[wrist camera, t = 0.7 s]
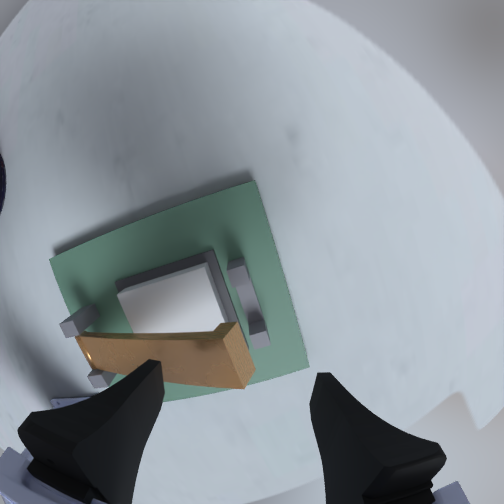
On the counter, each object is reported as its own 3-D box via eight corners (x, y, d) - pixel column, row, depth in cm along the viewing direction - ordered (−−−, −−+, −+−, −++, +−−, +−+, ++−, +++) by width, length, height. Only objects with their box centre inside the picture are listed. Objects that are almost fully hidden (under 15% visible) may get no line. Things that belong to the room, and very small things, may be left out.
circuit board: (125, 399, 24) (109, 430, 19) (56, 256, 21) (23, 268, 16) (306, 359, 23) (320, 393, 18) (254, 181, 20) (258, 174, 16)
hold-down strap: (103, 358, 20) (89, 368, 18) (87, 327, 19) (72, 337, 18) (256, 369, 14) (242, 391, 12) (237, 321, 13) (220, 341, 12)
